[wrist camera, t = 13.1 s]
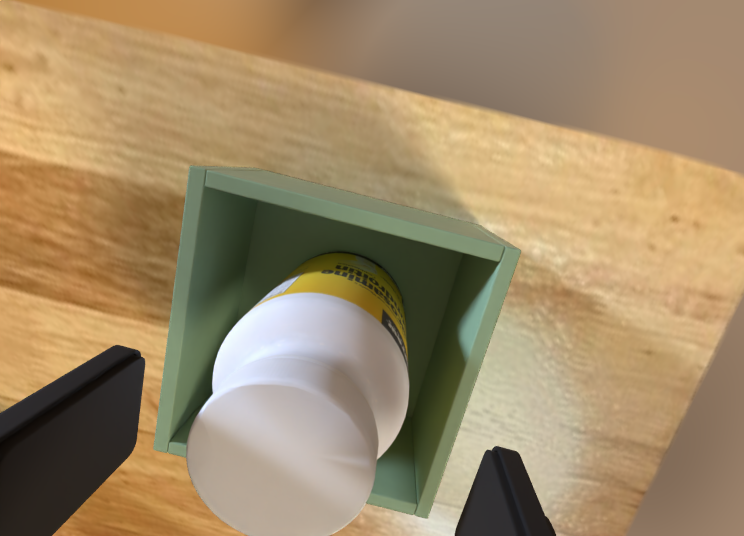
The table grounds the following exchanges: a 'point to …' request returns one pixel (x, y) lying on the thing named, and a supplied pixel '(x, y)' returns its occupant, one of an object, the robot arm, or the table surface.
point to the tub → (314, 237)
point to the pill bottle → (304, 401)
